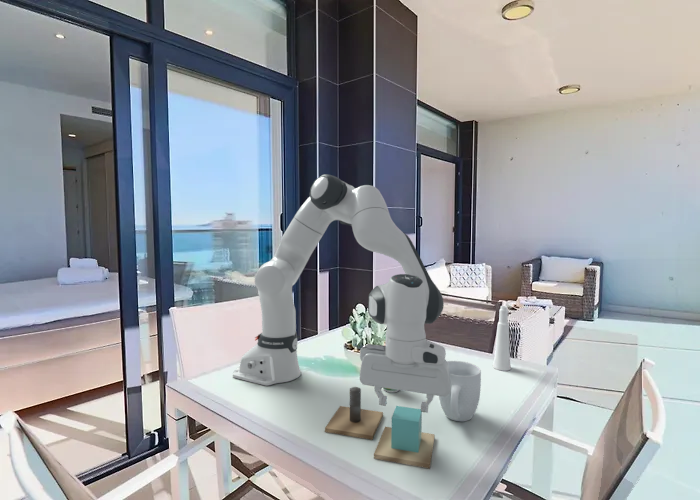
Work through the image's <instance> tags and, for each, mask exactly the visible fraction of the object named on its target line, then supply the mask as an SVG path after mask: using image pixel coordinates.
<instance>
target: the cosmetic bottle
mask: <svg viewBox="0 0 700 500" xmlns="http://www.w3.org/2000/svg"><path fill="white" fill-rule="evenodd" d="M498 314H499V315H498V318H499V319H498V322H497V325H496V326H497V327H496V339H495V348H494V351H495V352H494V358H493V362H492V367H493V369H494V370H497V371H501V372H502V371H503V372H508V371H511V370H512V366H511V358H510V357H511V356H510V323H509V321H508V317H509V310H508V306H507V305H500V308H499V313H498Z"/></svg>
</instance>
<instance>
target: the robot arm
mask: <svg viewBox="0 0 700 500" xmlns="http://www.w3.org/2000/svg"><path fill="white" fill-rule="evenodd" d="M309 189H310V190H309V197H307V199H306V200H305V201H304V202H303V204H302V205H301V206H300V207H299V209H298V210H297V211H296V213H295V214H294V216H293V218H292V219H291V221H290V223H289V225H288V226H287V228H286V229H285V232H284V233H283V235H282V236H281V239H280V242H279V245H278V246H277V249H276V251H275V253H274V255H273V256H272V258H271V259H270V260H269V261H267V262H265V263H263V264H262V265H260V267H259V268H258V270H257V271H256V274H255V275H254V276H255V277H254V285H255V287H256V289H257V294H258V297H259V303H260V308H261V309H260V310H261V332H260V333H259V334H257V335H256V336H255V337H254V341H257V343H256V344H255V345H254V346H253V347H251V348H250V349H249V350H247V351H246V352H245V353H244V354H243V355H242V357H241V359H240V362H239V363H240V364H239V366H238V367H237V368H236V369H235V370H234V371H233V373H232V378H234V379H239V380H243V381H246V382H250V383H254V384H257V385H262V386H272V385H275V384H281V383H287V382H291V381H294V380H296V379H297V378H299V377H300V376H301V373H302V371H301V369H300V365H299V360H298V351H297V349H298V332H297V331H296V329H297V324H296V319H297V317H296V310H297V309H296V307H295V303H294V297H293V296H294V295H293V286H294V285H296V283H297V282H298V280H299V278H300V276H301V275H302V273H303V271H304V269H305V267H306V265H307V264H308V262H309V260H310V257H311V256H312V254H313V253H314V250H316V247H317V246H318V245H319V242H320V240H321V239H322V237H323V236H324V234H325V232H326V231H327V229H328V227H329V225H330V224H331V223H332V222H334V221H339V224H341V225H345V226H351V228H352V229H351V230H352V232H353V236H354V238H355V241H356V243H358V245H360V246H361V247H362V248H364V249H366V250H367V251H370V252H373V253H378V254H380V255H384V256H387V257H389V258H391V259H394V260H395V261H397V263H399V264H400V266H401V267H402V270H403V272H404V273H399V274H394V275H392V276H391V277H390V278H389V280H388V282H386V283H383V284H379V285H376V286H374V287H373V289H372V290H371V291H370V293H369V294H368V296H367V297H368V298H367V313H368V314H367V315H368V317H370V318H371V319H372V320H373V321H374V322H376V323H377V324H379V325H386V333H385V342H384V343H385V345H380V344H372V343H367V344H366V345H363V346H362V347H361V348H360V350H359V358H360V361H361V364H360V370H359V382H360V383H361V384H362V385H363V386H370V387H374V393H375V394H376V396H377V397H378V405H379V406H382V407H386V406H387V404H388V396H387V395H384V393H383V391H382V389H383V388H389V389H396V390H399V391H402V392H412V393H418V394H424V395H426V397H425V398H426V401H423V400H422V401H421V404H420V409H421V412H422V413H426V414H428V412H429V406H430V404H431V402H432V401H433V399H434V397H435V396H438V397H439V396H443V397H446V396H447V395H448V394H449V393H450V371H449V365H448V363H447V361H448V360H447V359H446V356H447V355H446V354H447V353H446V348H445V347H444V346H442V345H440V344H437V343H435V342H433V341H431V340H429V339H426V337H427V335H426V331H425V325H428V324H429V325H430V324H433V323H434V322H436V320H438V318H439V317H440V316H441V314H442V313H443V310H444V298H443V295H442V293H441V291H440V289H439V288H438V287H437V285H436V284H435V283H434V281H433V279H432V278H431V276H430V274H429V272H428V270H427V268H426V266H425V264H424V263H423V261H422V258H421V256H420V254H419V253H418V251H417V249H416V247H415V245H414V243H413V241H412V240H411V238H410V236H408V234H406V233H405V232H404V231H402V230H401V229H400V228H399V227H398V226H397V225H396V223H395V222H394V221H393V219H392V217H391V213H390V211H389V208H388V205H387V203H386V200H385V199H384V197H383V195H382V193H381V191H380V189H378V188H377V187H376V186H373V185H369V184H364V185H360V186H358V187H354V186H353V185H351V184H348V183H347V182H345V181H343V180H341V178H339V177H337V176H335V175H331V174H327V173H326V174H322V175H321V176H319V177H317V178H316V179H315V180H314V181H313V183H312V185H311V187H310V188H309Z"/></svg>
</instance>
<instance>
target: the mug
mask: <svg viewBox="0 0 700 500" xmlns="http://www.w3.org/2000/svg"><path fill="white" fill-rule="evenodd" d="M446 361H447V363H448V365H449V371H450V393H449V394H448V395H447V396H446V397H443V396H438V400H439V404H440V407H441V409H442V412H443V414H444V415H445V417H447V418H448V419H450V420H451V421H456V422H460V423H461V422H468V421H469V420H471V419H472V418H473V417H474V415H475V413H476V412H477V409H478V406H479V402H480V396H481V386H482V381H481V380H482V370H481V368H480V367H479V366H477V365H476V364H473V363H471V362H468V361H467V362H466V361H461V360H446Z"/></svg>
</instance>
